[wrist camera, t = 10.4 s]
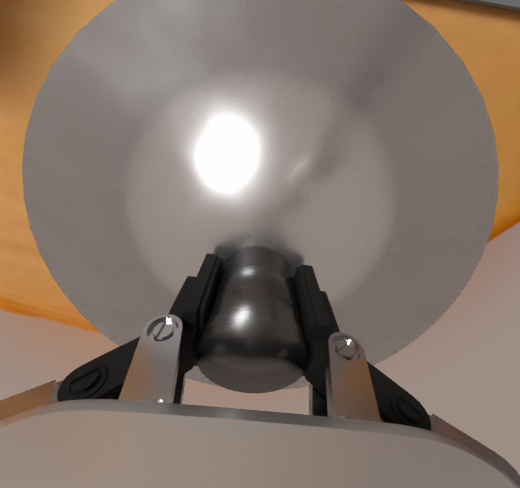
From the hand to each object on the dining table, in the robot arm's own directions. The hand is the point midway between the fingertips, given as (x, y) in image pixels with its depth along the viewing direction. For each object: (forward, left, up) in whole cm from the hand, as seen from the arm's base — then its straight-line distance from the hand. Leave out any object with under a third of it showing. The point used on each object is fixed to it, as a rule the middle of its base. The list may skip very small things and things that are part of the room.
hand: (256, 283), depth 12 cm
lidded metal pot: (0, 0, -8) cm, 8 cm away
